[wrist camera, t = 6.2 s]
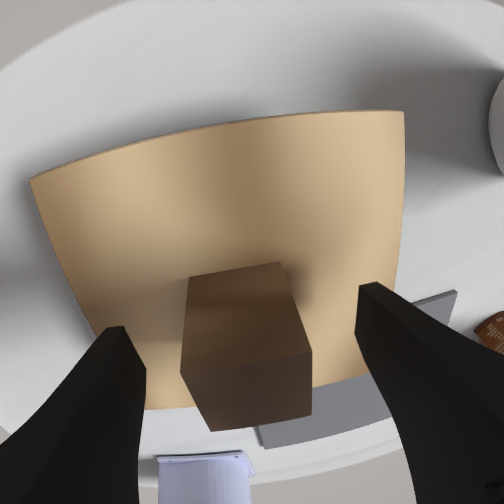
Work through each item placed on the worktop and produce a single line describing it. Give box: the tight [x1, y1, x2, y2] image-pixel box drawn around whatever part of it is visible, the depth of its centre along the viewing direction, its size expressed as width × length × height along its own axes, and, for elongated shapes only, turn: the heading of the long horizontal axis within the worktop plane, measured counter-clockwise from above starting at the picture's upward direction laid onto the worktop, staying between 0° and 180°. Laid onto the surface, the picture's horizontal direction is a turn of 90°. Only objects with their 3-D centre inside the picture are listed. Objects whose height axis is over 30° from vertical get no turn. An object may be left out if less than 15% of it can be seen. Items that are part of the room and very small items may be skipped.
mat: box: [258, 290, 457, 449], centre depth 22 cm, size 16×16×1 cm
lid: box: [29, 109, 405, 432], centre depth 9 cm, size 12×12×5 cm
